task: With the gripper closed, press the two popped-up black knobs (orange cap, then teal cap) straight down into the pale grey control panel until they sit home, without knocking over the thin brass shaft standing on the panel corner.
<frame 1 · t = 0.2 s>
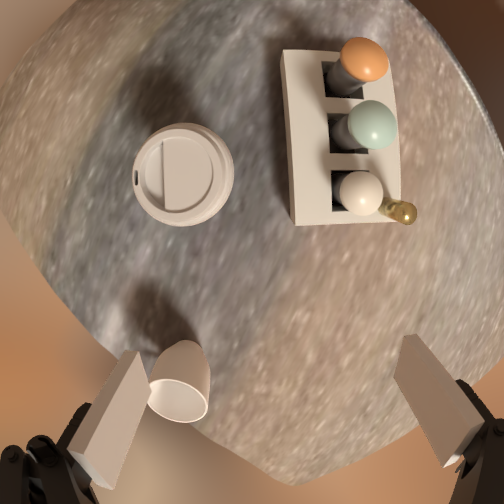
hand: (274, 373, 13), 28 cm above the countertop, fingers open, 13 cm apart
coffee cup: (205, 172, 37), on the countertop
mug: (184, 356, 45), on the countertop
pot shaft: (385, 206, 33), point 5 cm above the countertop, touching panel
knob c: (350, 190, 33), point 5 cm above the countertop, slide at 4.0 cm
panel: (337, 137, 36), on the countertop
knob b: (358, 129, 27), point 9 cm above the countertop, slide at 0.0 cm
knob a: (352, 71, 25), point 9 cm above the countertop, slide at 0.0 cm
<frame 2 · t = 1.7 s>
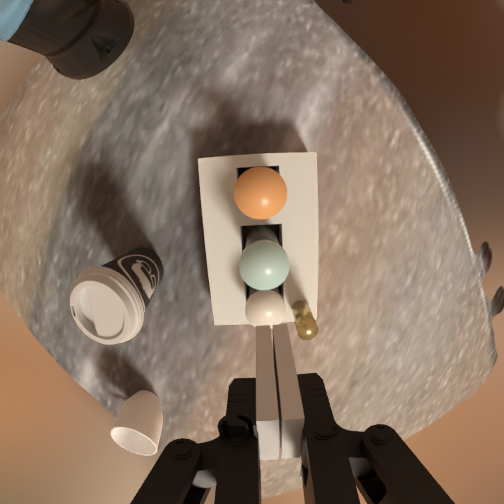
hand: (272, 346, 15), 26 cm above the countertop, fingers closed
coffee cup: (144, 268, 42), on the countertop
mug: (145, 401, 50), on the countertop
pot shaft: (300, 308, 38), point 5 cm above the countertop, touching panel
knob c: (264, 295, 38), point 5 cm above the countertop, slide at 4.0 cm
panel: (261, 235, 40), on the countertop
knob b: (262, 253, 32), point 9 cm above the countertop, slide at 0.0 cm
knob a: (259, 189, 30), point 9 cm above the countertop, slide at 0.0 cm
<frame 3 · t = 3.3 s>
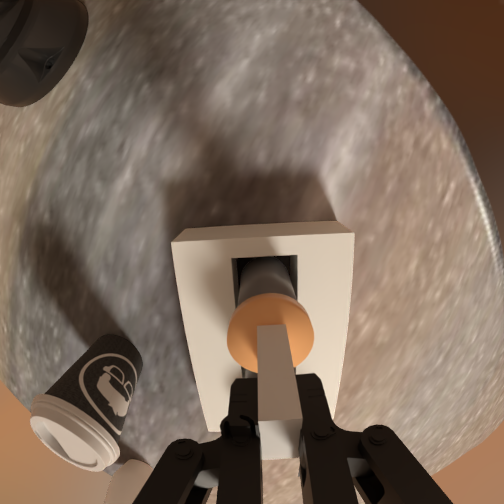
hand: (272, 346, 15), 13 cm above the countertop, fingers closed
coffee cup: (119, 355, 31), on the countertop
mug: (138, 467, 39), on the countertop
panel: (266, 329, 29), on the countertop
knob b: (270, 385, 21), point 9 cm above the countertop, slide at 0.0 cm
knob a: (267, 304, 20), point 8 cm above the countertop, slide at 0.7 cm, touching gripper
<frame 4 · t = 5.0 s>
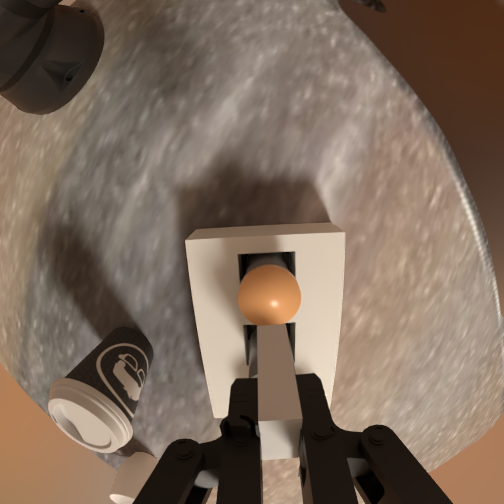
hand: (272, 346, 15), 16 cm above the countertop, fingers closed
coffee cup: (131, 347, 34), on the countertop
mug: (143, 459, 42), on the countertop
panel: (268, 321, 32), on the countertop
knob b: (271, 367, 24), point 9 cm above the countertop, slide at 0.0 cm
knob a: (267, 278, 26), point 5 cm above the countertop, slide at 4.0 cm
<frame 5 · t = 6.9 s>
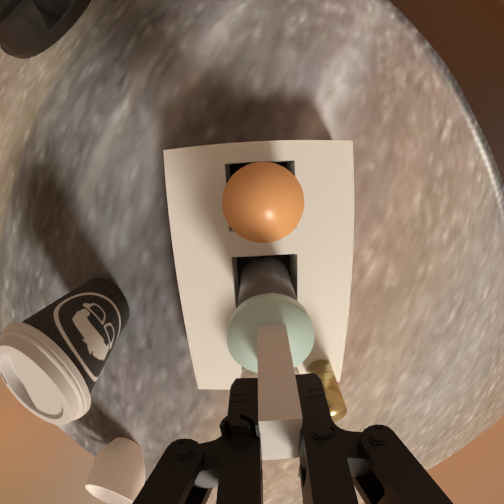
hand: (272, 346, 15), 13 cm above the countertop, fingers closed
coffee cup: (104, 304, 29), on the countertop
mug: (125, 447, 38), on the countertop
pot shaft: (319, 369, 25), point 5 cm above the countertop, touching panel
knob c: (268, 354, 25), point 5 cm above the countertop, slide at 4.0 cm
panel: (263, 265, 27), on the countertop
knob b: (267, 304, 20), point 8 cm above the countertop, slide at 0.5 cm, touching gripper
knob a: (261, 195, 21), point 5 cm above the countertop, slide at 4.0 cm
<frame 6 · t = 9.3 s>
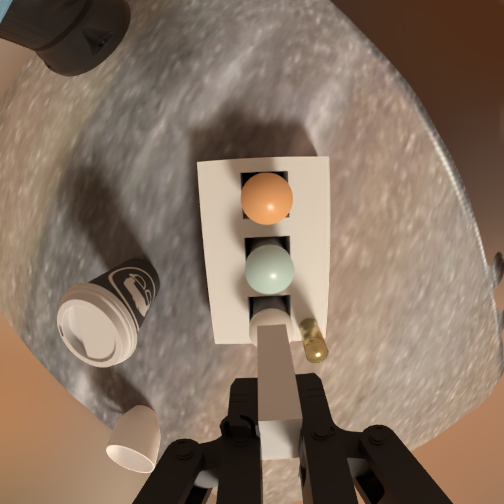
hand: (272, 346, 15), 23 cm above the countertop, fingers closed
coffee cup: (139, 280, 39), on the countertop
mug: (142, 416, 47), on the countertop
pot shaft: (308, 326, 34), point 5 cm above the countertop, touching panel
knob c: (269, 313, 34), point 5 cm above the countertop, slide at 4.0 cm
panel: (266, 247, 37), on the countertop
knob b: (267, 257, 32), point 5 cm above the countertop, slide at 4.0 cm
knob a: (265, 194, 30), point 5 cm above the countertop, slide at 4.0 cm
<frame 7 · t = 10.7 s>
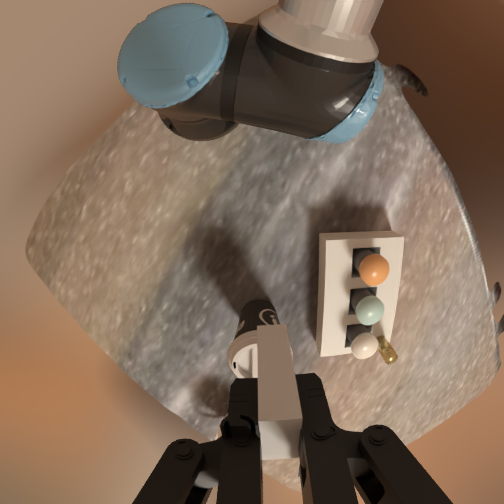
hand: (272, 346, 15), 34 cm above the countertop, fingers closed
coffee cup: (258, 314, 53), on the countertop
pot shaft: (379, 340, 49), point 5 cm above the countertop, touching panel
knob c: (357, 334, 49), point 5 cm above the countertop, slide at 4.0 cm
panel: (354, 289, 51), on the countertop
knob b: (362, 300, 47), point 5 cm above the countertop, slide at 4.0 cm
knob a: (365, 261, 45), point 5 cm above the countertop, slide at 4.0 cm
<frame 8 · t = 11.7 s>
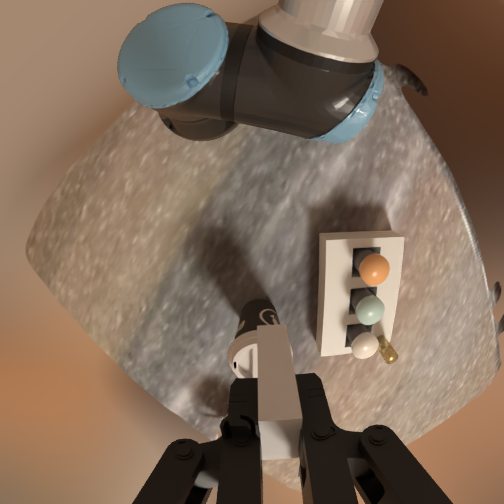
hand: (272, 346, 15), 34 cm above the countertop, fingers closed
coffee cup: (259, 314, 53), on the countertop
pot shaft: (380, 340, 49), point 5 cm above the countertop, touching panel
knob c: (358, 333, 49), point 5 cm above the countertop, slide at 4.0 cm
panel: (354, 289, 51), on the countertop
knob b: (362, 299, 47), point 5 cm above the countertop, slide at 4.0 cm
knob a: (365, 261, 45), point 5 cm above the countertop, slide at 4.0 cm
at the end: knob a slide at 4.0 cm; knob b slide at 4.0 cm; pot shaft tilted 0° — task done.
